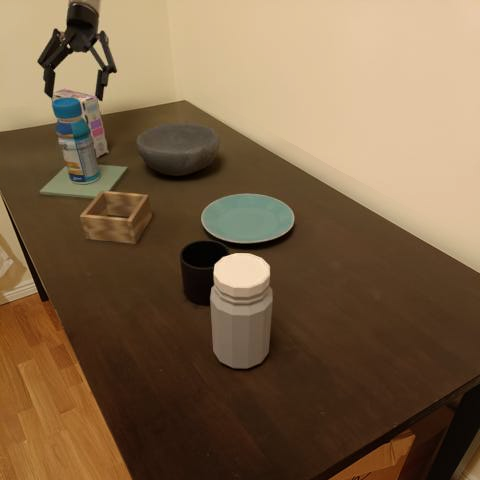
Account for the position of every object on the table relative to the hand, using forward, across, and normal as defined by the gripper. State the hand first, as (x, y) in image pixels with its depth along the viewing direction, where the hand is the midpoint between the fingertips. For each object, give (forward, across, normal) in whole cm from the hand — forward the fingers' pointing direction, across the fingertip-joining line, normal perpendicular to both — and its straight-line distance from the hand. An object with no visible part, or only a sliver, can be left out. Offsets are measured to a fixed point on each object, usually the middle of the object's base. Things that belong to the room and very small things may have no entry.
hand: (73, 96), depth 108 cm
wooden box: (+32, -18, +4) cm, 37 cm away
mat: (+18, 0, -11) cm, 21 cm away
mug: (+45, -43, +16) cm, 65 cm away
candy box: (+4, +8, -25) cm, 27 cm away
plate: (+28, -48, -1) cm, 56 cm away
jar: (+57, -53, +27) cm, 82 cm away
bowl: (+9, -24, -20) cm, 33 cm away
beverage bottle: (+17, 0, -11) cm, 20 cm away
